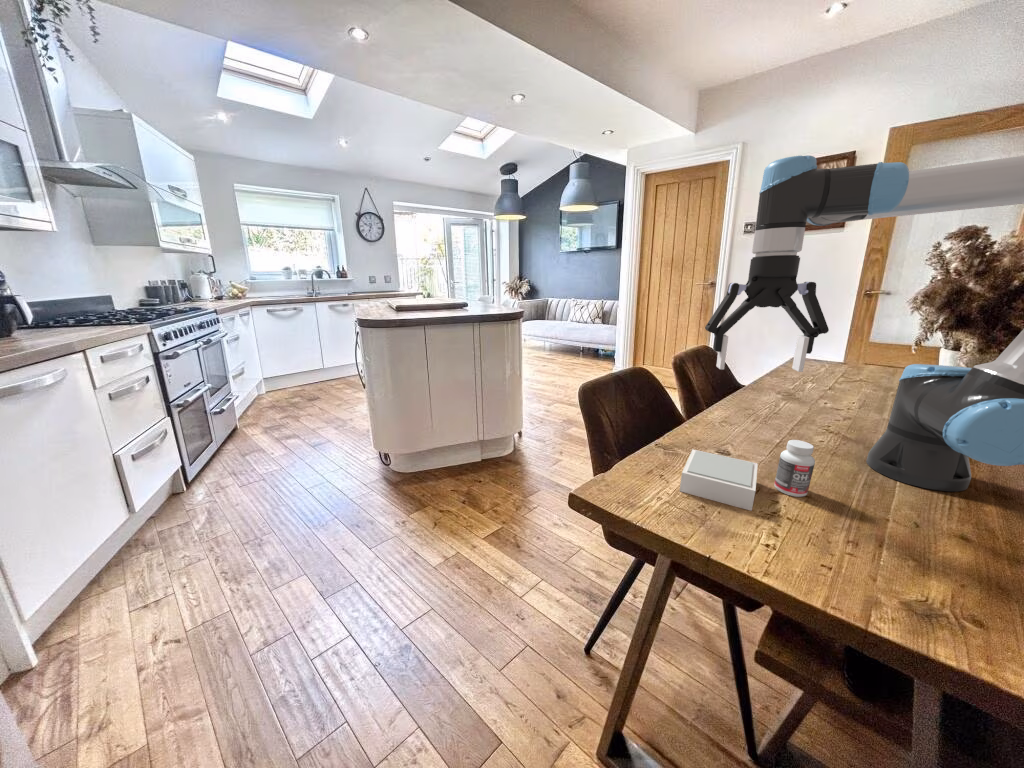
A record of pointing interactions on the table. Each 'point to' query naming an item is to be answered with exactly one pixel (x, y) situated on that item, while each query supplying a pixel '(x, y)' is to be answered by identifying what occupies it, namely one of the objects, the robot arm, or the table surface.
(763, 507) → the table surface
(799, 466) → the pill bottle
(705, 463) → the plinth
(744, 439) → the table surface
